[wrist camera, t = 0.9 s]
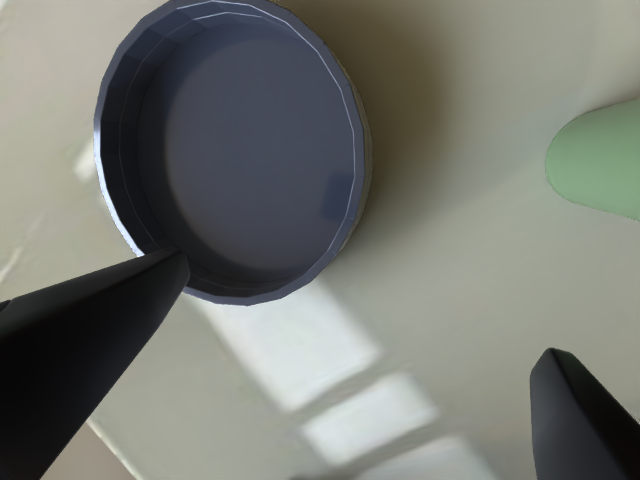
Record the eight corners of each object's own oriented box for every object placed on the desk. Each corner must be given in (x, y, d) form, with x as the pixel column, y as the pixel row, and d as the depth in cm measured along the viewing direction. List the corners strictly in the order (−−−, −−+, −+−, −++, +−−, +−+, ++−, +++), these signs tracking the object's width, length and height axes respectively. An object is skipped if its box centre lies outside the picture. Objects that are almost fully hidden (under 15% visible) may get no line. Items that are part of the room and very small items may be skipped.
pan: (376, 292, 23) (369, 314, 19) (157, 281, 28) (122, 298, 25) (368, -12, 19) (358, -48, 16) (114, 41, 24) (66, 23, 21)
